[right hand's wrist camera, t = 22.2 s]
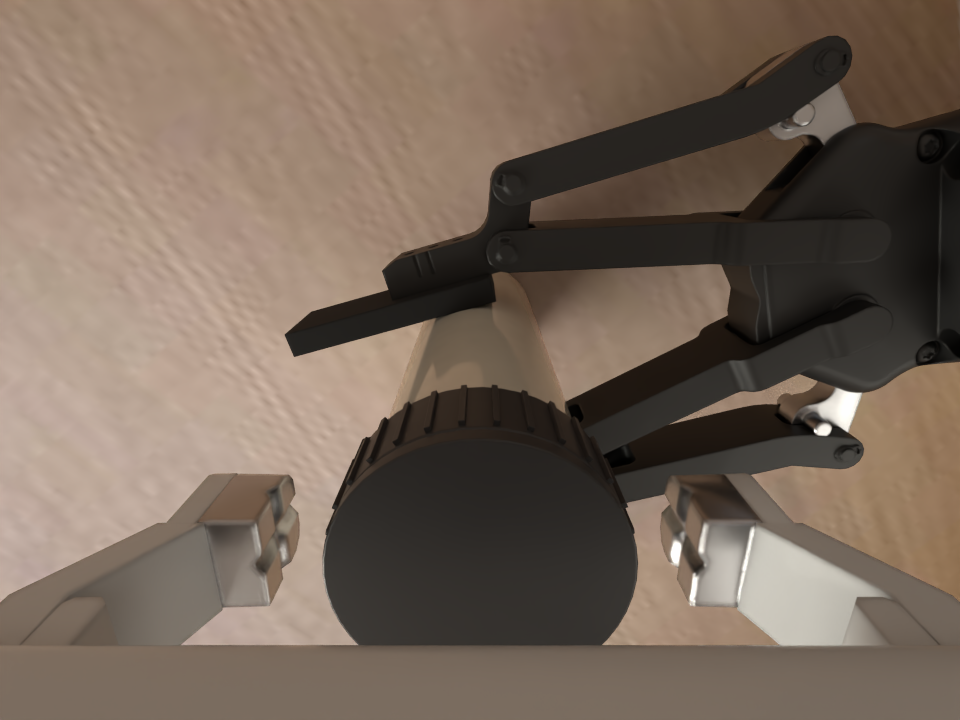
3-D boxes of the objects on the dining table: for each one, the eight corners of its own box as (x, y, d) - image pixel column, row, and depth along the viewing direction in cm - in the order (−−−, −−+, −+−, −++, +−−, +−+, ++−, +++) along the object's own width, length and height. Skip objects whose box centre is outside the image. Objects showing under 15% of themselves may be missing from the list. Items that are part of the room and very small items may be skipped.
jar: (538, 272, 23) (637, 450, 9) (521, 368, 24) (580, 655, 10) (435, 257, 23) (358, 415, 8) (424, 355, 24) (344, 630, 10)
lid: (541, 636, 12) (553, 727, 10) (312, 559, 11) (277, 640, 9) (663, 444, 10) (706, 508, 8) (402, 337, 9) (383, 381, 7)
